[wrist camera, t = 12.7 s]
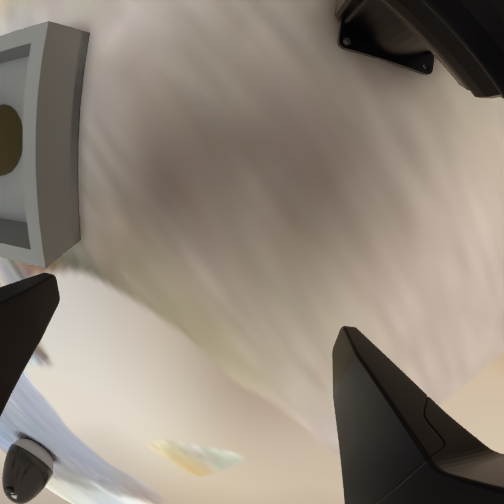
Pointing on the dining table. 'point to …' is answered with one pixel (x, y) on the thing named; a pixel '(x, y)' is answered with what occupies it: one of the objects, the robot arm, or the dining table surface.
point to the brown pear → (10, 139)
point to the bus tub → (42, 141)
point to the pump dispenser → (26, 470)
